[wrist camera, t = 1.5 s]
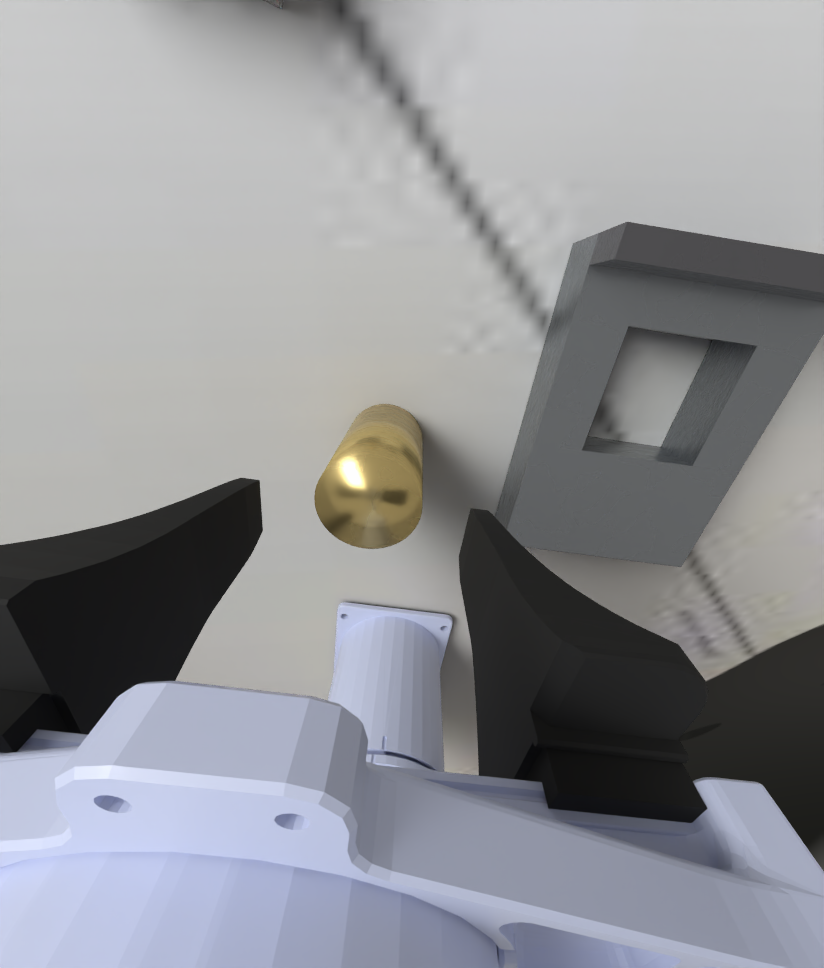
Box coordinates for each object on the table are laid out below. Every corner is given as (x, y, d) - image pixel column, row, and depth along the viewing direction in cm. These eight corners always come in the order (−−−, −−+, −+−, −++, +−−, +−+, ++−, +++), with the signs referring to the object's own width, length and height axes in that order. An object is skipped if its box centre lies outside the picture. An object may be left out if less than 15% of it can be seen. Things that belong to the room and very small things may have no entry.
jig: (654, 540, 22) (706, 593, 18) (494, 519, 22) (510, 568, 18) (796, 279, 16) (925, 271, 12) (573, 243, 15) (627, 221, 11)
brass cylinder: (417, 478, 20) (414, 554, 14) (347, 468, 20) (313, 541, 14) (428, 409, 19) (430, 463, 12) (351, 398, 19) (315, 447, 12)
